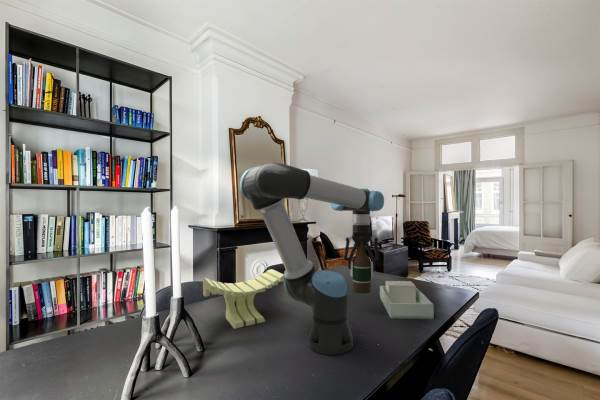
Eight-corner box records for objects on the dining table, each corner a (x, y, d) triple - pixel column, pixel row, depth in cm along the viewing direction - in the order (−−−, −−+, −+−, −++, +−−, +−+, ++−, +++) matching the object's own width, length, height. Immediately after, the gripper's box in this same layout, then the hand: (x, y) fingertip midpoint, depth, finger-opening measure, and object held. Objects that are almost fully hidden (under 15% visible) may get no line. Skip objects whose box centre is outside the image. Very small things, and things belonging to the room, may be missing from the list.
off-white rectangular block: (389, 302, 136) (388, 285, 136) (385, 297, 144) (385, 280, 144) (415, 303, 135) (415, 285, 135) (411, 297, 143) (410, 281, 143)
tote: (390, 318, 120) (390, 303, 120) (380, 297, 146) (379, 285, 146) (433, 319, 118) (433, 304, 118) (415, 298, 144) (415, 286, 144)
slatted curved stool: (269, 306, 137) (269, 267, 137) (284, 317, 123) (284, 274, 123) (203, 319, 122) (202, 276, 123) (211, 333, 108) (211, 285, 109)
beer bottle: (369, 288, 131) (369, 234, 131) (372, 294, 123) (371, 236, 123) (351, 288, 131) (351, 234, 132) (353, 293, 124) (353, 236, 124)
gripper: (384, 223, 130) (384, 275, 130) (337, 223, 133) (337, 274, 132) (387, 224, 123) (387, 279, 122) (337, 224, 125) (337, 278, 125)
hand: (361, 276), depth 127 cm, fingers closed on beer bottle, 8 cm apart
